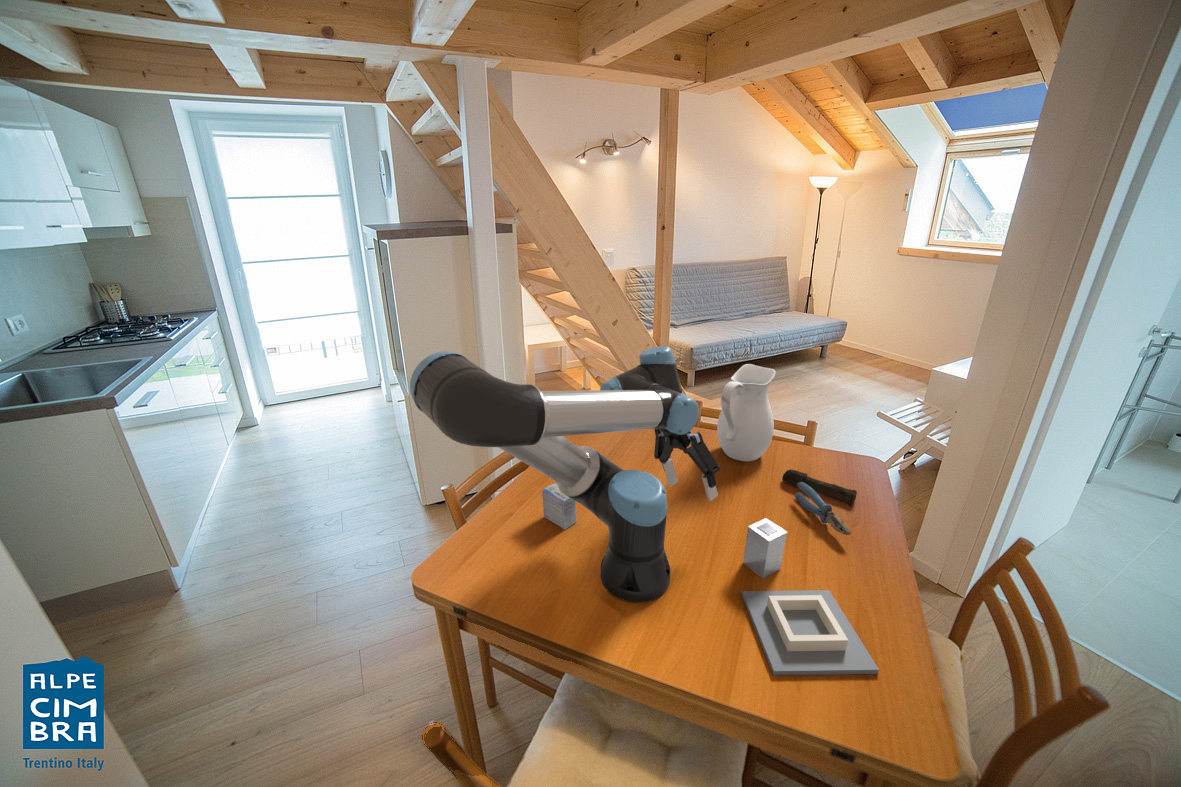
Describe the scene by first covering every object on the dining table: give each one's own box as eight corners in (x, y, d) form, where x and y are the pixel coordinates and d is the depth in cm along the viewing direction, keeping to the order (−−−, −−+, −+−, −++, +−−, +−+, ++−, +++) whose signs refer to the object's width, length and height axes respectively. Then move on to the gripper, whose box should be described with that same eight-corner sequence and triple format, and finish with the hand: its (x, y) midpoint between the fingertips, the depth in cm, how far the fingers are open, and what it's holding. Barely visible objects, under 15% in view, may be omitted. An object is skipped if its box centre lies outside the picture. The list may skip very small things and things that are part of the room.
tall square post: (762, 578, 102) (769, 540, 99) (743, 563, 107) (748, 525, 103) (780, 569, 105) (787, 531, 101) (760, 554, 110) (766, 517, 106)
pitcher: (733, 436, 165) (742, 359, 154) (779, 453, 153) (792, 372, 143) (691, 460, 150) (698, 376, 139) (739, 481, 138) (750, 392, 128)
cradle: (773, 675, 81) (776, 660, 80) (741, 594, 98) (743, 581, 97) (877, 673, 82) (882, 659, 80) (828, 593, 98) (831, 580, 97)
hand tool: (856, 501, 129) (859, 486, 127) (852, 508, 126) (855, 493, 125) (785, 477, 140) (787, 464, 139) (780, 483, 138) (782, 469, 136)
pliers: (849, 544, 112) (854, 524, 110) (841, 545, 112) (846, 525, 110) (800, 497, 131) (803, 478, 129) (793, 497, 130) (796, 479, 128)
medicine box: (577, 522, 121) (576, 493, 118) (564, 530, 118) (563, 501, 115) (555, 510, 126) (554, 481, 123) (543, 517, 123) (541, 489, 120)
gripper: (722, 411, 102) (743, 496, 108) (649, 400, 123) (669, 472, 129) (698, 425, 99) (720, 512, 104) (627, 412, 120) (649, 485, 125)
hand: (692, 490), depth 117 cm, fingers open, 13 cm apart
